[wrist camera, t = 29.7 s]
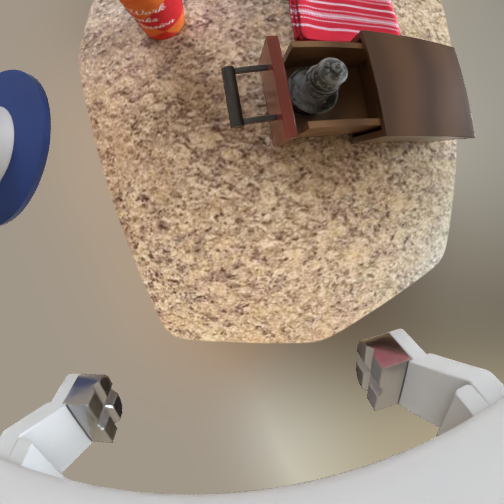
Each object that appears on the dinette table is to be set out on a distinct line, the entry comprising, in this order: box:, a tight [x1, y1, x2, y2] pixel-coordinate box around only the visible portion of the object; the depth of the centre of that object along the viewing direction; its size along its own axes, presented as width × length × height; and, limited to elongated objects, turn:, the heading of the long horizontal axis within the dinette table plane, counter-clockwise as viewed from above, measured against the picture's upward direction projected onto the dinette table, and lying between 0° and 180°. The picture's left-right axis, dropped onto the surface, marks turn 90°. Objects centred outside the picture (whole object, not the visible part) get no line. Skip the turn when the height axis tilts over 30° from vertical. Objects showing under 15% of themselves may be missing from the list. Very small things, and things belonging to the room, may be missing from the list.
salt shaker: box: [288, 57, 348, 118], centre depth 26 cm, size 6×6×12 cm
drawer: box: [221, 36, 382, 146], centre depth 29 cm, size 18×11×8 cm, turn 99°
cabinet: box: [350, 30, 475, 144], centre depth 30 cm, size 15×13×10 cm
